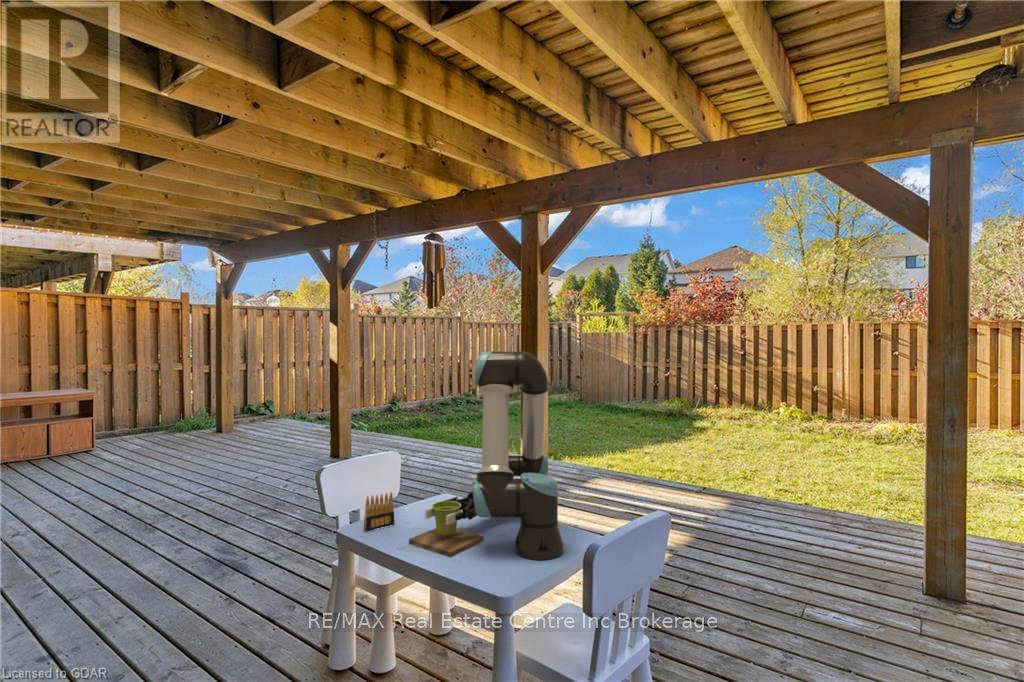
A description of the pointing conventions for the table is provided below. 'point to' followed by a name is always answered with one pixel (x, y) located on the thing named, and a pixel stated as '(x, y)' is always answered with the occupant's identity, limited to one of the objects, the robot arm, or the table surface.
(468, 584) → the table surface
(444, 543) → the walnut board
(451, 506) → the plant pot
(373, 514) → the ammunition clip
